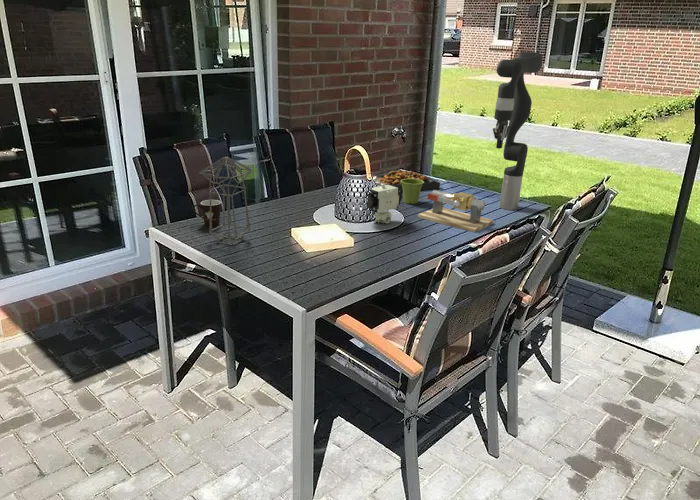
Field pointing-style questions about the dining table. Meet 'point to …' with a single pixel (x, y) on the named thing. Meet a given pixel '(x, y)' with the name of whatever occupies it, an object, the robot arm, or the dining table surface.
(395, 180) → the food platter
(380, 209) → the ball valve
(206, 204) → the coffee mug
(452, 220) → the mounting board
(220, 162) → the geometric lantern
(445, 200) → the valve lever
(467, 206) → the valve body
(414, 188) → the plant pot
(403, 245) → the dining table surface
